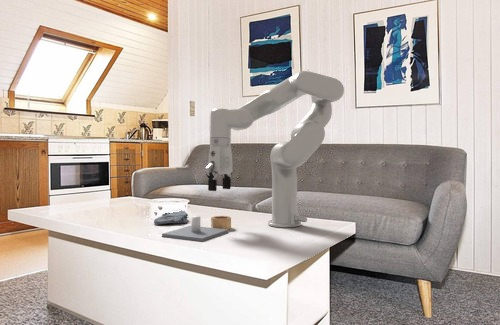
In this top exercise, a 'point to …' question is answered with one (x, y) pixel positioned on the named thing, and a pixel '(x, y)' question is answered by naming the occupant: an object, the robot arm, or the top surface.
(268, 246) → the top surface
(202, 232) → the grey square base plate
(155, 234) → the top surface
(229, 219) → the ring
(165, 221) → the fossil
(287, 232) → the top surface
